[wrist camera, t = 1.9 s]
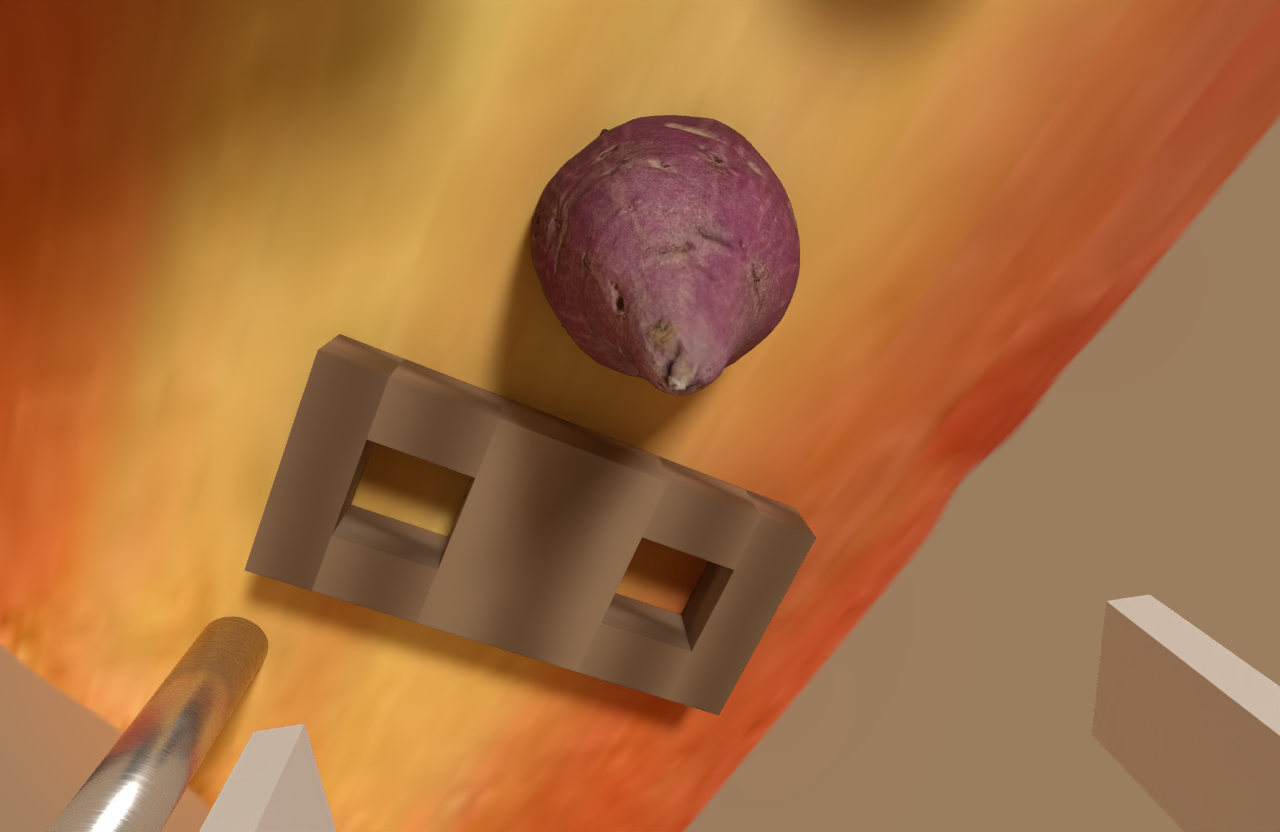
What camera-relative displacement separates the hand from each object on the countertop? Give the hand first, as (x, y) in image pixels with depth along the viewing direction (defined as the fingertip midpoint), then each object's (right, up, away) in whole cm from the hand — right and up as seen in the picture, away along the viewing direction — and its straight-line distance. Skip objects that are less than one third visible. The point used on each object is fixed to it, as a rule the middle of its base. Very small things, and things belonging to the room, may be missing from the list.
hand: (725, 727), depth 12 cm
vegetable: (-1, +12, +19) cm, 23 cm away
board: (-6, 0, +22) cm, 23 cm away
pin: (-20, -6, +23) cm, 31 cm away
